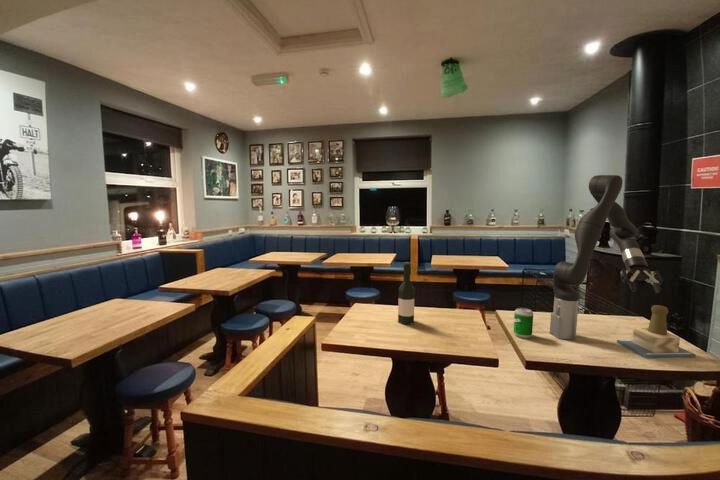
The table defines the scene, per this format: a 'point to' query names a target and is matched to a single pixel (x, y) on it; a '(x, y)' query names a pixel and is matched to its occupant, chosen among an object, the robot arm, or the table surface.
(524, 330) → the soda can
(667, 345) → the maple pedestal
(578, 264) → the robot arm
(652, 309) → the cork
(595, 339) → the table surface
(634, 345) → the board
